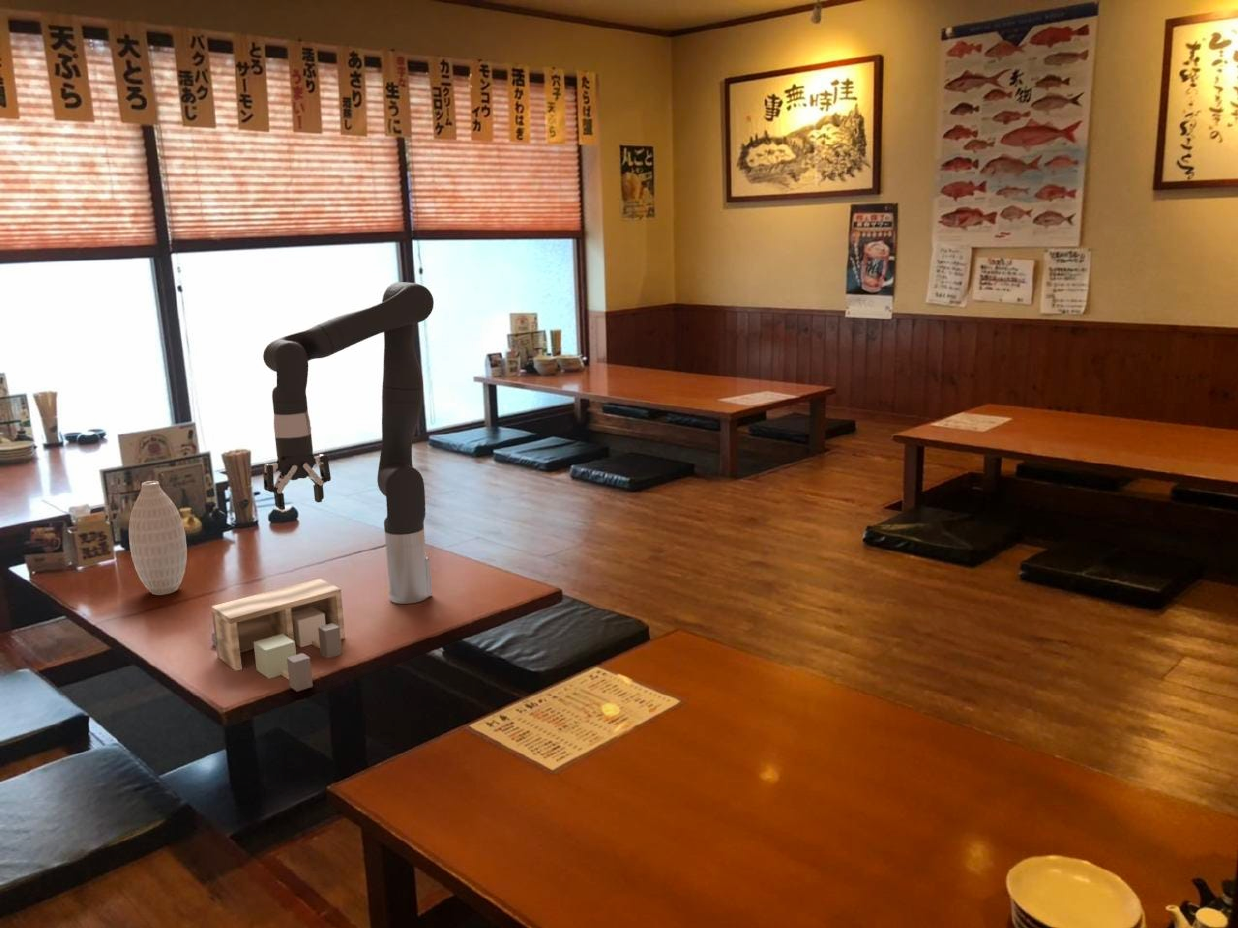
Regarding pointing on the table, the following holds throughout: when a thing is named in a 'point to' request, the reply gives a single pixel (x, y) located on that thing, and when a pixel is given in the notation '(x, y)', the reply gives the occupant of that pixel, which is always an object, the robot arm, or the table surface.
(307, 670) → the sage block
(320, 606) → the shelf
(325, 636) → the cream block
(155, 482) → the vase
